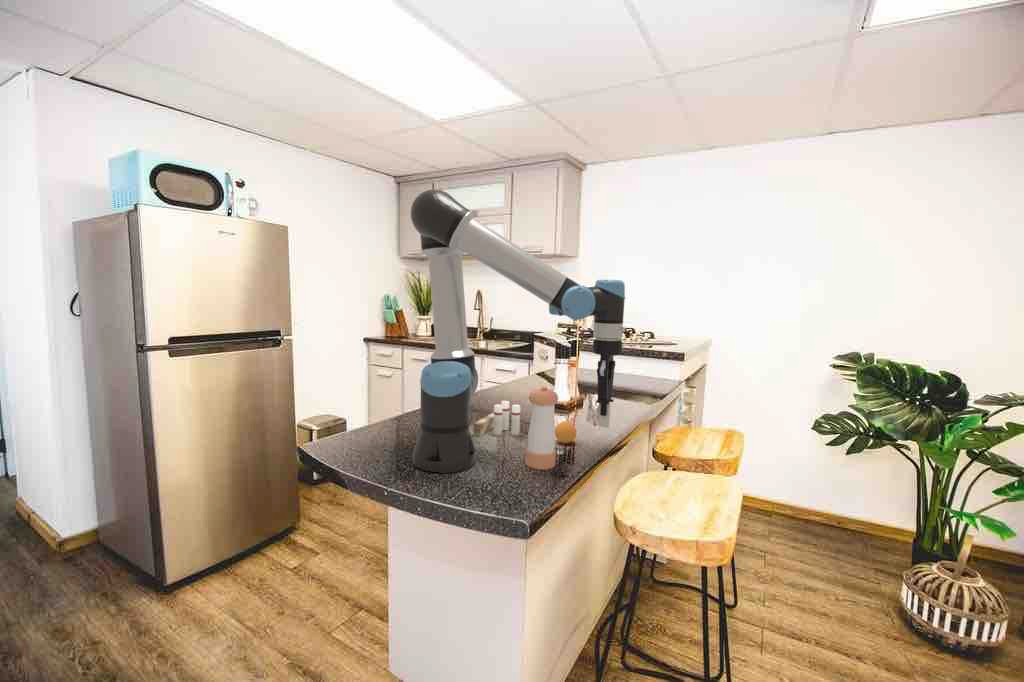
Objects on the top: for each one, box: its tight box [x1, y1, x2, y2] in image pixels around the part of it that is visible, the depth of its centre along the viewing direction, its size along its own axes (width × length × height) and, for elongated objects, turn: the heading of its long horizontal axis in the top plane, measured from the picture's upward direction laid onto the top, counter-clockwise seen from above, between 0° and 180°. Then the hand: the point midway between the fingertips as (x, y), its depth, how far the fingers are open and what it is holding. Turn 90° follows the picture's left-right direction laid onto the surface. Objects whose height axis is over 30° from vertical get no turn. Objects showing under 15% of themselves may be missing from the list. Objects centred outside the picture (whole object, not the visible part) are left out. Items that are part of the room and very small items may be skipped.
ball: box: [555, 420, 577, 444], centre depth 123 cm, size 6×6×6 cm
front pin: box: [510, 404, 521, 436], centre depth 129 cm, size 2×2×8 cm
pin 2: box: [500, 400, 510, 431], centre depth 133 cm, size 2×2×8 cm
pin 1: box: [492, 403, 503, 436], centre depth 128 cm, size 2×2×8 cm
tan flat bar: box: [472, 411, 494, 438], centre depth 133 cm, size 14×2×4 cm, turn 157°
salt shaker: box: [525, 385, 559, 471], centre depth 107 cm, size 7×7×19 cm
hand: (603, 426), depth 119 cm, fingers closed
